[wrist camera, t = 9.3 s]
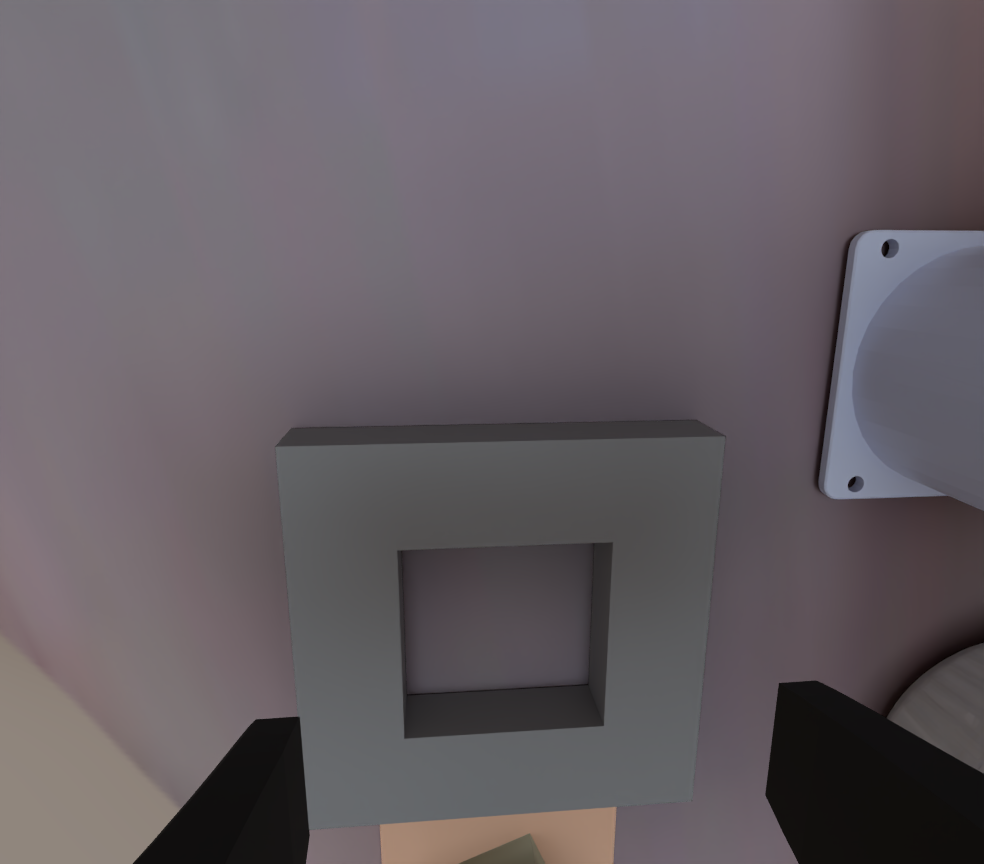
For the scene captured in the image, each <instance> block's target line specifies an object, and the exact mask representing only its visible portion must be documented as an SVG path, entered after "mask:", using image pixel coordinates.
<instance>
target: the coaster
mask: <svg viewBox="0 0 984 864" xmlns="http://www.w3.org/2000/svg"><path fill="white" fill-rule="evenodd" d="M615 823H616V807H608V808H595V809H581V810H568V811H554V812H541V813H528V814H514V815H501V816H488V817H474V818H461V819H448V820H434V821H421V822H408V823H394V824H381V825H380V836H381V856H382V864H459V863H461V862H463V861H466V860H468V859H470V858H473V857H475V856H477V855H480V854H482V853H484V852H487V851H489V850H492V849H494V848H496V847H499V846H501V845H503V844H506V843H508V842H510V841H513V840H515V839H517V838H520V837H522V836H524V835H527V834H529V833H530V834H531V836H532V838H533V840H534V842H535V844H536V846H537V848H538V850H539V852H540V854H541V856H542V858H543V860H544V862H545V864H613V858H614V840H615Z"/></svg>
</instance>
